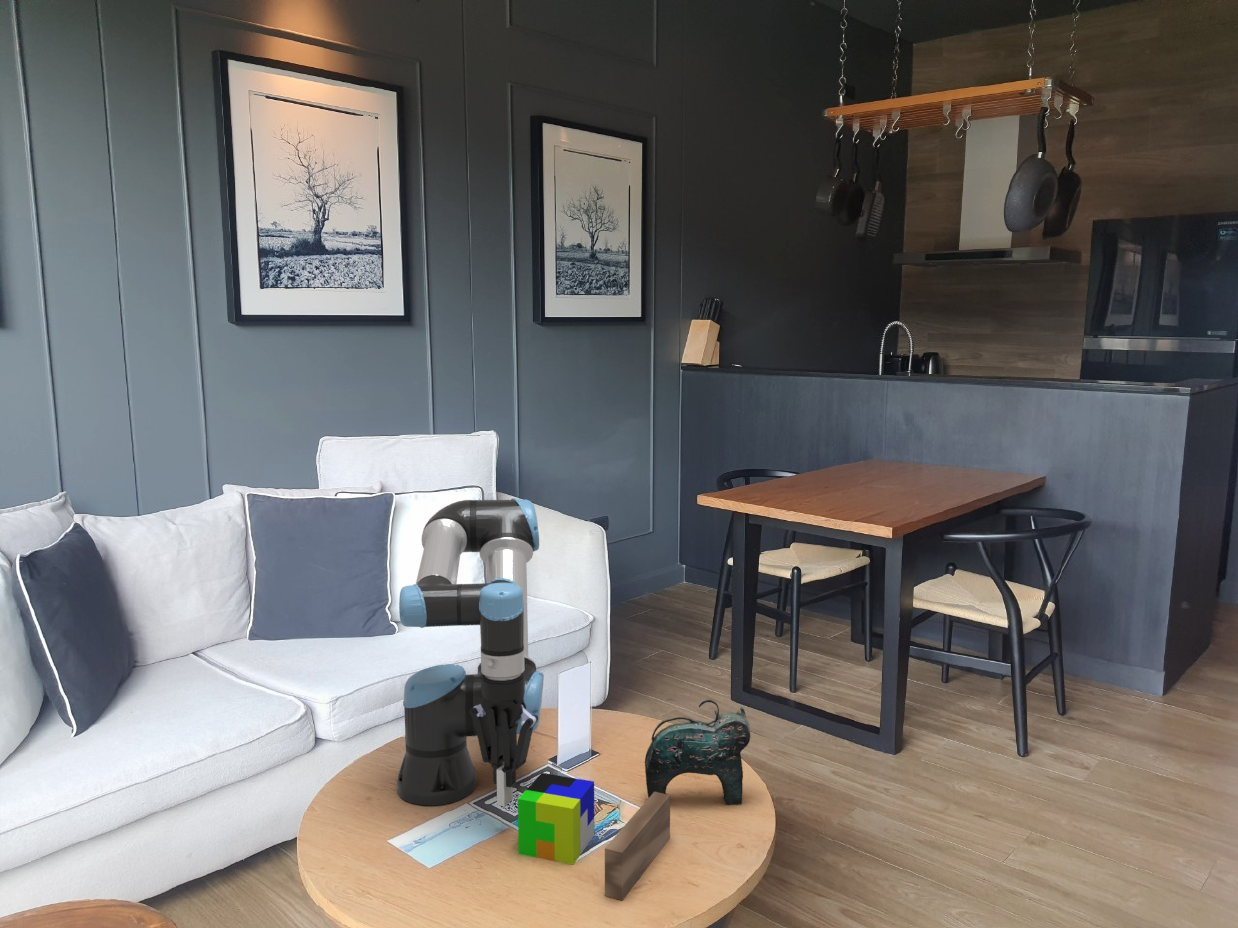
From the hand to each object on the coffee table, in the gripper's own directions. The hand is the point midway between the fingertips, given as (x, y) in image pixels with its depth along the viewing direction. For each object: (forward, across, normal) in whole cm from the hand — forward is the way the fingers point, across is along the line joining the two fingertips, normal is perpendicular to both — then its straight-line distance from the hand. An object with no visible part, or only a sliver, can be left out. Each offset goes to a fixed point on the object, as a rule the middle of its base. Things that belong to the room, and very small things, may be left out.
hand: (504, 801), depth 163 cm
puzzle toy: (+6, +10, 0) cm, 12 cm away
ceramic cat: (+6, +27, +24) cm, 37 cm away
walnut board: (+6, +26, 0) cm, 26 cm away
